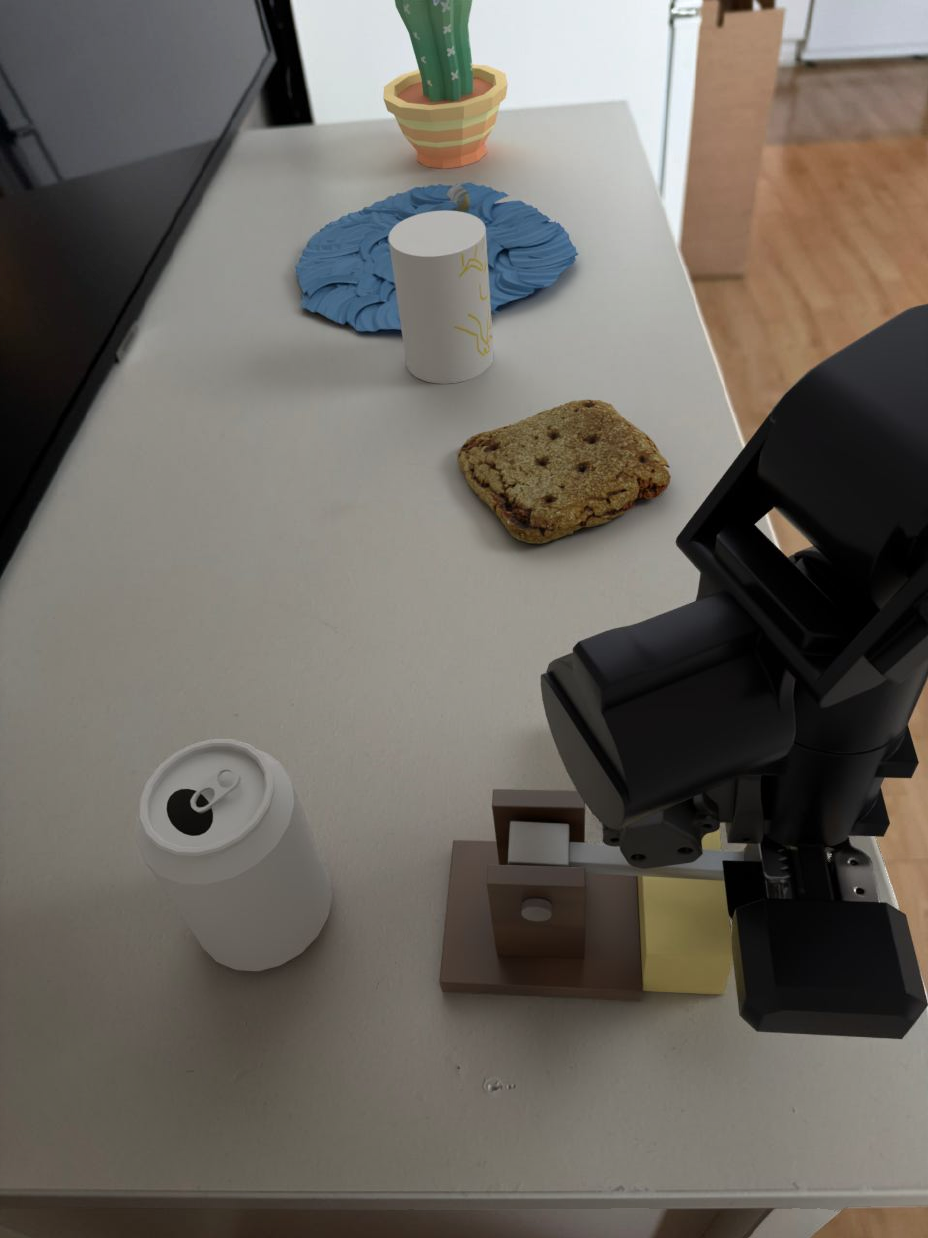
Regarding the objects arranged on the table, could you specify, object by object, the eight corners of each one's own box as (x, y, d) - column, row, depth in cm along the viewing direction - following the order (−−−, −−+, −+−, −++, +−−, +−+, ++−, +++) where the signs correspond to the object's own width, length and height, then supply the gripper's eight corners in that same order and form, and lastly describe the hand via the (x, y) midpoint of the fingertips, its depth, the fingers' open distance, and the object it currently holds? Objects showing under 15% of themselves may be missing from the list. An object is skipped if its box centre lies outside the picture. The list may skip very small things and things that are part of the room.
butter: (710, 865, 52) (719, 823, 48) (723, 995, 47) (734, 957, 44) (635, 863, 52) (639, 821, 49) (641, 991, 47) (646, 954, 44)
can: (175, 906, 53) (94, 788, 44) (287, 825, 56) (233, 698, 47) (244, 1008, 48) (170, 899, 40) (362, 914, 51) (318, 794, 43)
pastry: (694, 429, 78) (697, 398, 75) (638, 572, 67) (641, 541, 65) (496, 398, 83) (494, 368, 81) (416, 526, 73) (411, 495, 70)
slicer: (635, 855, 52) (643, 765, 46) (641, 1001, 47) (652, 922, 40) (455, 850, 53) (438, 761, 47) (441, 992, 48) (420, 914, 42)
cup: (485, 385, 85) (476, 257, 76) (397, 381, 86) (378, 255, 77) (500, 335, 90) (493, 210, 81) (416, 333, 91) (401, 209, 83)
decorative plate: (546, 358, 89) (545, 308, 85) (254, 334, 96) (240, 287, 92) (599, 205, 107) (600, 158, 103) (350, 194, 114) (342, 150, 110)
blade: (797, 856, 46) (812, 822, 44) (808, 918, 44) (824, 886, 42) (510, 840, 47) (510, 806, 45) (507, 900, 45) (507, 868, 43)
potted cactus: (376, 179, 117) (338, -65, 99) (408, 129, 127) (380, -100, 109) (498, 179, 114) (483, -73, 96) (522, 128, 124) (512, -109, 106)
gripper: (600, 520, 42) (593, 731, 53) (610, 925, 29) (598, 1087, 41) (864, 518, 40) (799, 734, 52) (993, 940, 28) (870, 1103, 39)
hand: (763, 891), depth 46 cm, fingers closed on blade, 3 cm apart
